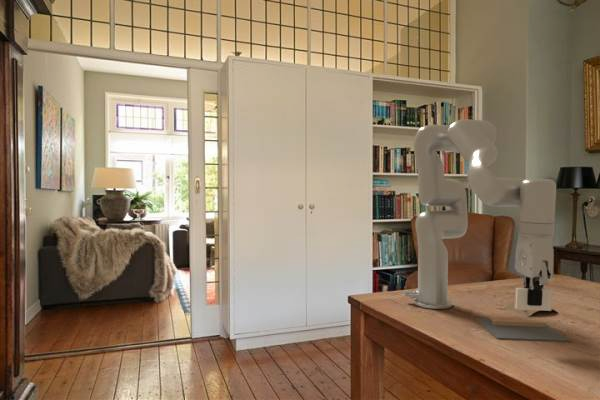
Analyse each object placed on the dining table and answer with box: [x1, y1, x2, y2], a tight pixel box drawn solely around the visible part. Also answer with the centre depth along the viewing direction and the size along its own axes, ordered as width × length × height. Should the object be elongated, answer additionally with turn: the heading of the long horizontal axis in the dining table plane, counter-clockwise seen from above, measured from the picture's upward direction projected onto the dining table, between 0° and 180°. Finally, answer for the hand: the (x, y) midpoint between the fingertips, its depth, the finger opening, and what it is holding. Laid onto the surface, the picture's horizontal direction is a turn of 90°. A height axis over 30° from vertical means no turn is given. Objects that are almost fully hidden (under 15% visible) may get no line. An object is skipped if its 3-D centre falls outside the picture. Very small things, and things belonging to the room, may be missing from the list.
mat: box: [475, 318, 572, 343], centre depth 112 cm, size 18×16×2 cm
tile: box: [513, 286, 553, 312], centre depth 100 cm, size 8×2×5 cm, turn 84°
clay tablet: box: [504, 300, 559, 317], centre depth 131 cm, size 14×10×3 cm
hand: (532, 303), depth 100 cm, fingers closed on tile, 1 cm apart
